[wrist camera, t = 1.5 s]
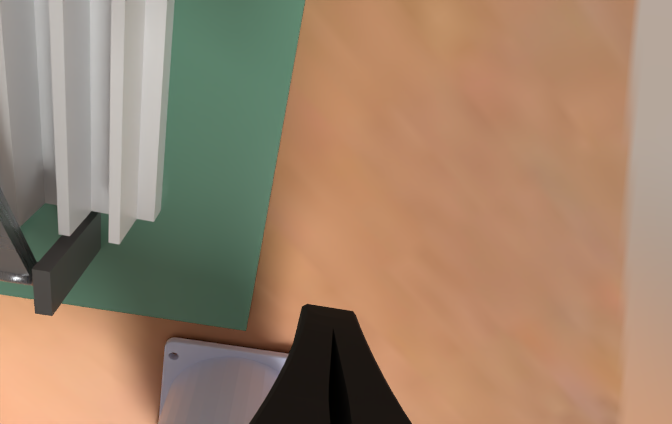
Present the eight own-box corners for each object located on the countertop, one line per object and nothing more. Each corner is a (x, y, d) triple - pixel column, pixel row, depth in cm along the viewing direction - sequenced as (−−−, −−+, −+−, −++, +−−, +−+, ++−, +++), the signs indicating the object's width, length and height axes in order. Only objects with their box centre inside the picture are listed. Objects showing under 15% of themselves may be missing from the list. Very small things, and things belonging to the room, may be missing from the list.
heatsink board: (248, 315, 26) (230, 410, 21) (-130, 257, 24) (-260, 347, 18) (330, -142, 17) (335, -181, 12) (-273, -307, 15) (-609, -449, 9)
